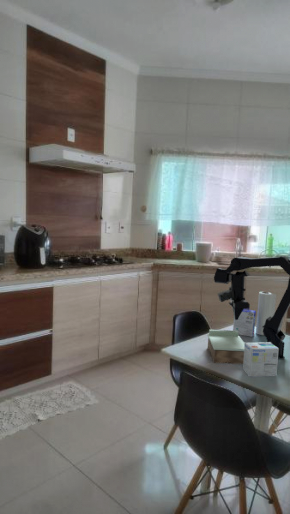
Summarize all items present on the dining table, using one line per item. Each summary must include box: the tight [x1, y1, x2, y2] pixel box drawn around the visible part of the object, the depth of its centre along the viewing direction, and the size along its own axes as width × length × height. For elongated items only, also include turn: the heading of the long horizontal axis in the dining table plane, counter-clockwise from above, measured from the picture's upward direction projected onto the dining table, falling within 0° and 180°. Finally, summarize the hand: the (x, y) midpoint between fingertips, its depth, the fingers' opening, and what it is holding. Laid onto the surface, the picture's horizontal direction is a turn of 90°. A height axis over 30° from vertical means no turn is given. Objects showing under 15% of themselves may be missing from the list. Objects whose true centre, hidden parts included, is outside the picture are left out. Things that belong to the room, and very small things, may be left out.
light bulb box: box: [242, 341, 279, 378], centre depth 127 cm, size 11×7×11 cm, turn 98°
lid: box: [207, 329, 246, 351], centre depth 142 cm, size 14×17×3 cm
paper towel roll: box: [255, 291, 277, 337], centre depth 172 cm, size 7×6×21 cm
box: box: [207, 337, 244, 365], centre depth 142 cm, size 13×16×5 cm
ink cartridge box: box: [232, 308, 257, 338], centre depth 172 cm, size 10×6×14 cm, turn 64°
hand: (236, 319), depth 154 cm, fingers closed
